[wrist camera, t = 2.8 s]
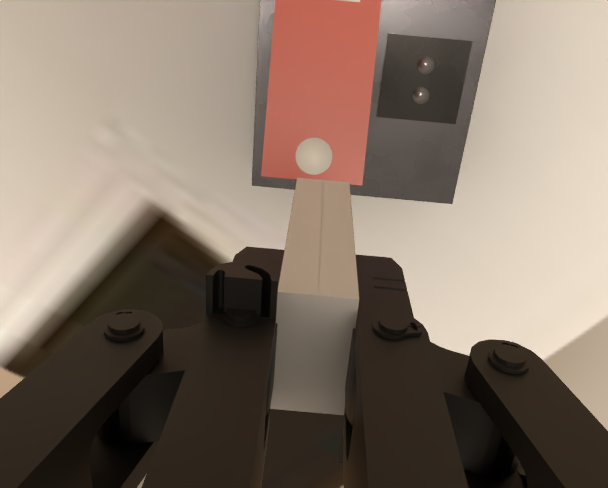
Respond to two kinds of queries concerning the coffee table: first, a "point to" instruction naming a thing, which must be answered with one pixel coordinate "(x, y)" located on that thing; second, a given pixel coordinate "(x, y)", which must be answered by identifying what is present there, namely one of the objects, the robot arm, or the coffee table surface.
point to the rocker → (320, 89)
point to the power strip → (405, 96)
